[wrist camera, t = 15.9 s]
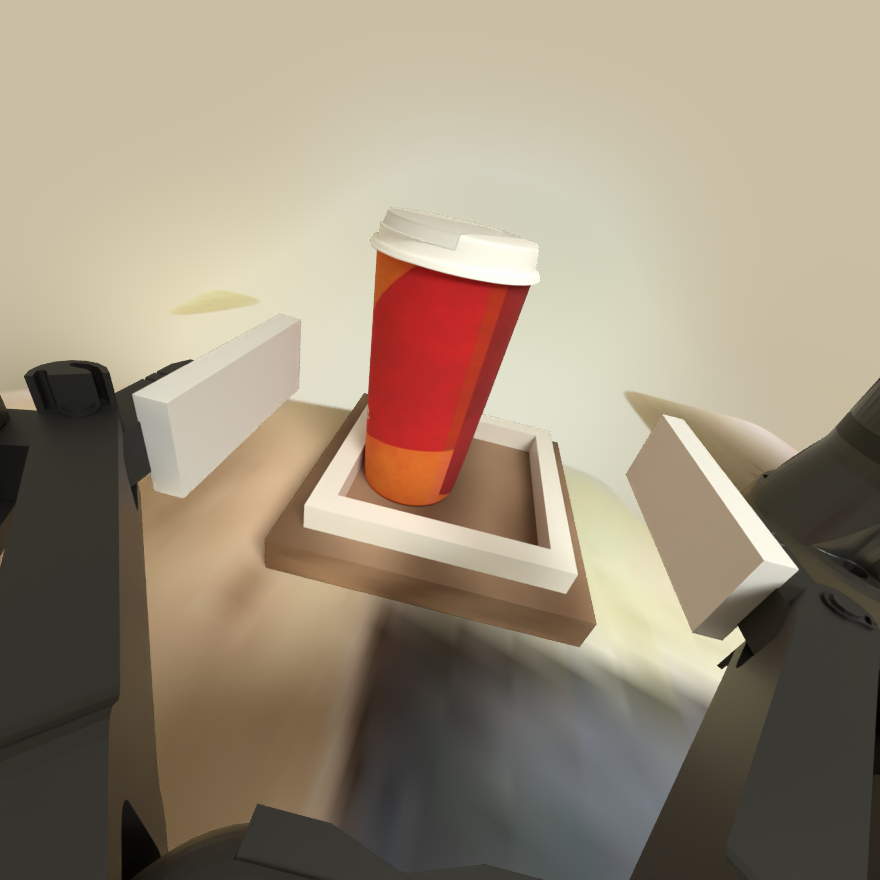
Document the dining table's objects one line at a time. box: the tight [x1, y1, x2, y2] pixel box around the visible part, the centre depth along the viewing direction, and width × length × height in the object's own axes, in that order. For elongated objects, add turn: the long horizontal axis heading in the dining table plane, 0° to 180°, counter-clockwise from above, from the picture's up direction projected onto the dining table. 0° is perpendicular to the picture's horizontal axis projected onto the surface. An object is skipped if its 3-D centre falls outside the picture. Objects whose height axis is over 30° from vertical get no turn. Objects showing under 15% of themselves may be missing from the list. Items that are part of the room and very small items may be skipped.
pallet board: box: [265, 393, 596, 647], centre depth 26 cm, size 16×16×4 cm
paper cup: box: [365, 208, 540, 507], centre depth 21 cm, size 8×8×14 cm
